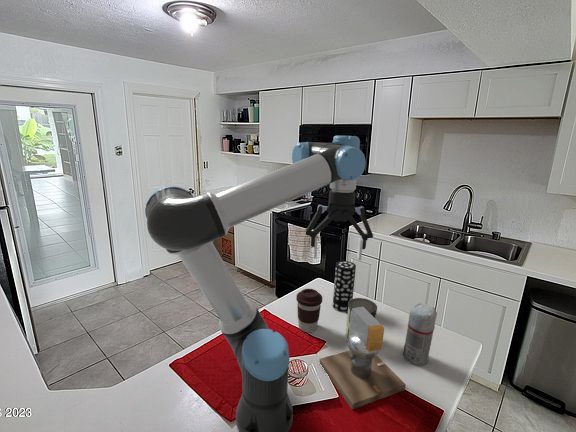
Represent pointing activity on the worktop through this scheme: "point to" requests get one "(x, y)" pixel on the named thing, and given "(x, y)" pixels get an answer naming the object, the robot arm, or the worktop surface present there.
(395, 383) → the base
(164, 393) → the worktop surface
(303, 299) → the coffee cup
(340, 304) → the white-spotted black cylinder
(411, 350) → the spray can
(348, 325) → the coffee can
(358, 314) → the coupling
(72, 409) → the worktop surface
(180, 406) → the worktop surface
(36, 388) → the worktop surface
